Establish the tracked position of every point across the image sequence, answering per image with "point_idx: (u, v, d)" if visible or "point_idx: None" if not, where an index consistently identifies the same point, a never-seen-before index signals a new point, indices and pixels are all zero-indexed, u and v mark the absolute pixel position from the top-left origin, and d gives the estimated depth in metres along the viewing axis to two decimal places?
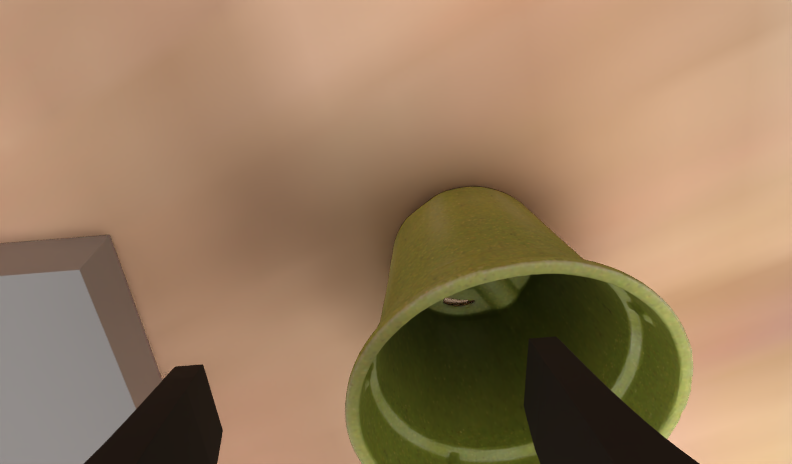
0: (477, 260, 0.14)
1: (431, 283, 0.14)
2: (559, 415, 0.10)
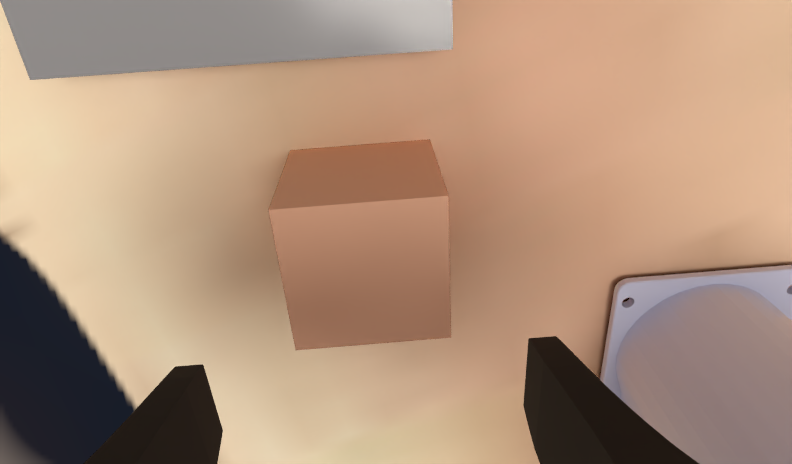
0: None
1: None
2: (559, 414, 0.10)
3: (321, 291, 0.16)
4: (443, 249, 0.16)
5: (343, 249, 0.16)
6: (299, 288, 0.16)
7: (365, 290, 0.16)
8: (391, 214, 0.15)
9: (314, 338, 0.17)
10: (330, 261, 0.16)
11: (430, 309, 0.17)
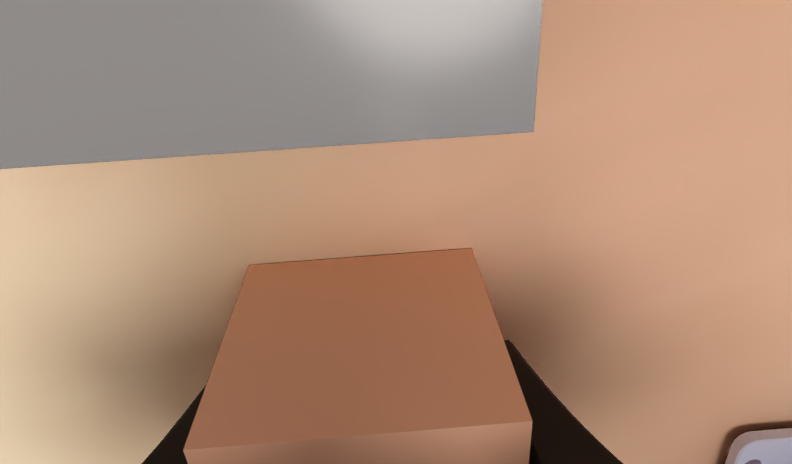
0: None
1: None
2: None
3: None
4: None
5: None
6: None
7: None
8: (420, 452, 0.08)
9: None
10: None
11: None
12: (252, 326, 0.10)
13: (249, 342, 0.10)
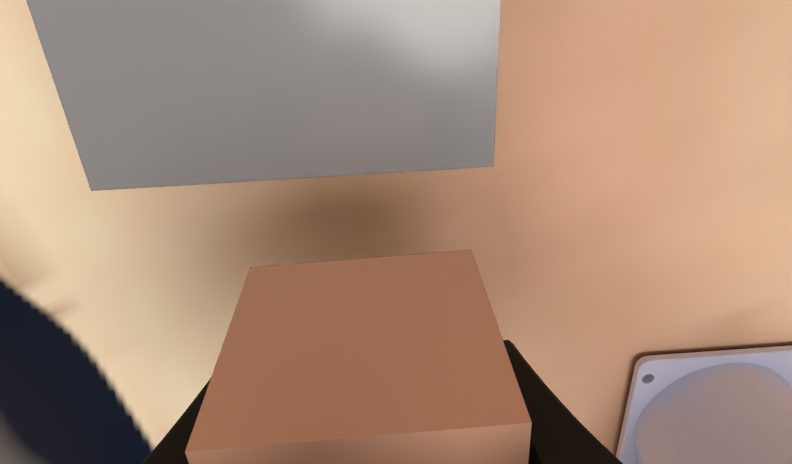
0: None
1: None
2: None
3: None
4: None
5: None
6: None
7: None
8: (420, 454, 0.08)
9: None
10: None
11: None
12: (253, 328, 0.10)
13: (250, 344, 0.10)
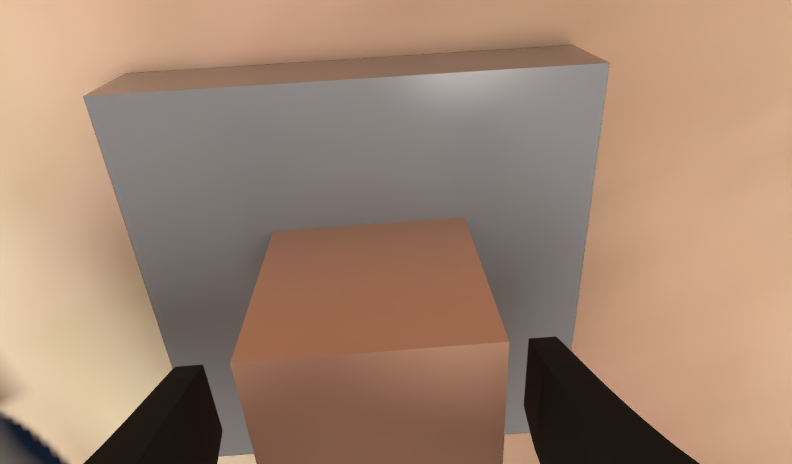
0: None
1: None
2: (559, 414, 0.10)
3: None
4: (496, 410, 0.10)
5: (346, 413, 0.10)
6: (279, 462, 0.11)
7: (377, 462, 0.11)
8: (420, 367, 0.10)
9: None
10: (326, 428, 0.10)
11: None
12: (279, 277, 0.12)
13: (277, 288, 0.12)
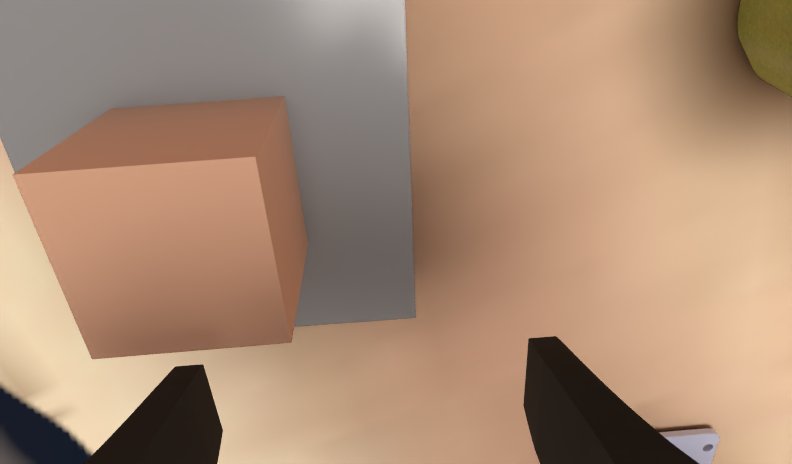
0: None
1: None
2: (559, 415, 0.10)
3: (109, 284, 0.12)
4: (261, 229, 0.12)
5: (127, 228, 0.12)
6: (79, 280, 0.12)
7: (167, 282, 0.13)
8: (182, 182, 0.11)
9: (113, 344, 0.13)
10: (112, 244, 0.12)
11: (258, 307, 0.13)
12: (93, 131, 0.13)
13: (86, 137, 0.13)
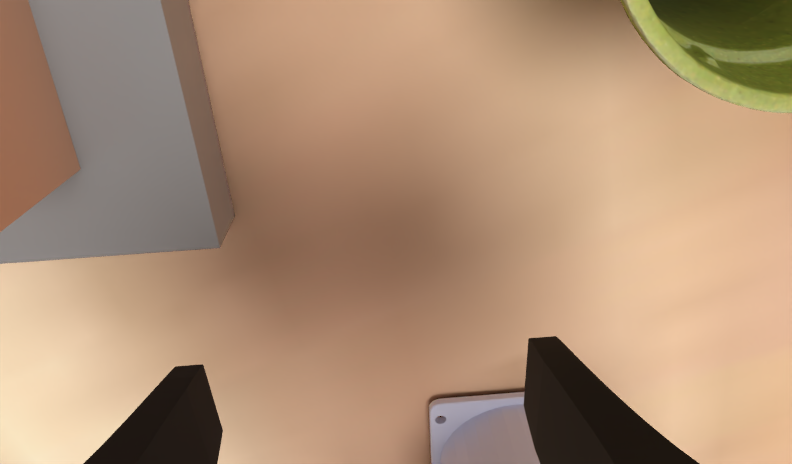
0: None
1: None
2: (559, 415, 0.10)
3: None
4: None
5: None
6: None
7: None
8: None
9: None
10: None
11: None
12: None
13: None
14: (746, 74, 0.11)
